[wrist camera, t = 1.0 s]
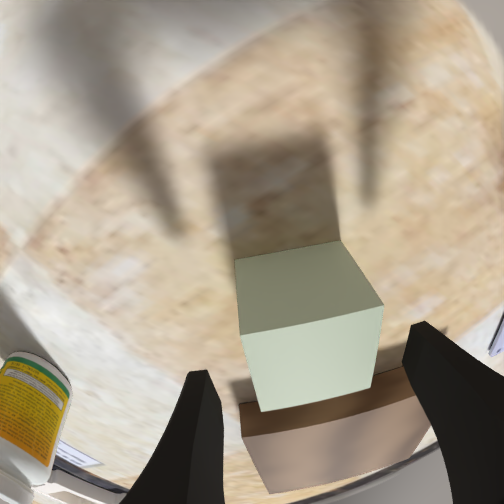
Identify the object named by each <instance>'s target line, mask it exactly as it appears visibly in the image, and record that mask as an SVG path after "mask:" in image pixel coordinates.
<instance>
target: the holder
mask: <svg viewBox="0 0 504 504" xmlns="http://www.w3.org/2000/svg"><path fill="white" fill-rule="evenodd" d="M31 489H33V490H35V491H37V492H39V493H42V494H44V495H46V496H48V497H50V498H52V499H55V500H57V501H59V502H61V503H64V504H119V503H120V502H121V500H122V499H123V498H124V497H125V495H126V494H127V493H121V494H116V493H113V492H110V491H108V490H105V489H102V488H100V487H97V486H95V485H92V484H90V483H87V482H85V481H83V480H80V479H78V478H76V477H74V476H71V475H69V474H67V473H65V472H63V471H61V470H58V469H57V470H55V471H53V470H51V474H50V477H49V479H48V481H47V482H46V483H44V484H41V485H31ZM66 491H67V492H66ZM68 492H70V493H68ZM71 493H72V494H71ZM73 494H75V495H73ZM76 495H77V496H76ZM78 496H79V497H78ZM80 497H82V498H80Z"/></svg>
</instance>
